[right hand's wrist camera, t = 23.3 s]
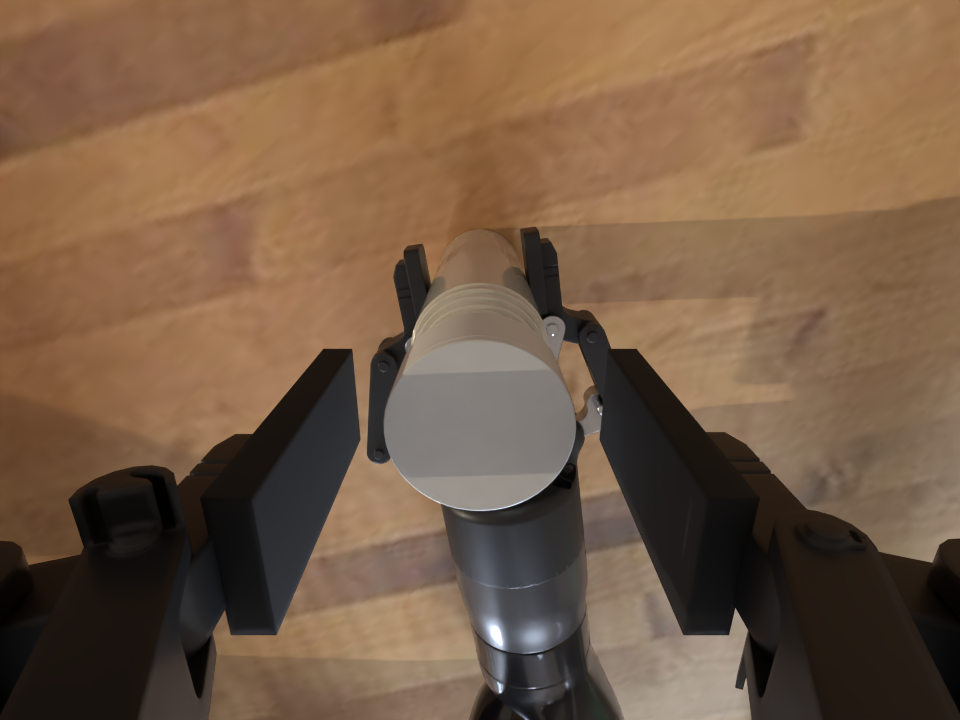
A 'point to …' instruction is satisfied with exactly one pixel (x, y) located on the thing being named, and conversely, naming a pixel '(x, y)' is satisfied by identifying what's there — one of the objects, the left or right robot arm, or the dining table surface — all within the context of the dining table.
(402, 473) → the cap
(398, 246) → the dining table surface
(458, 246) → the bottle
